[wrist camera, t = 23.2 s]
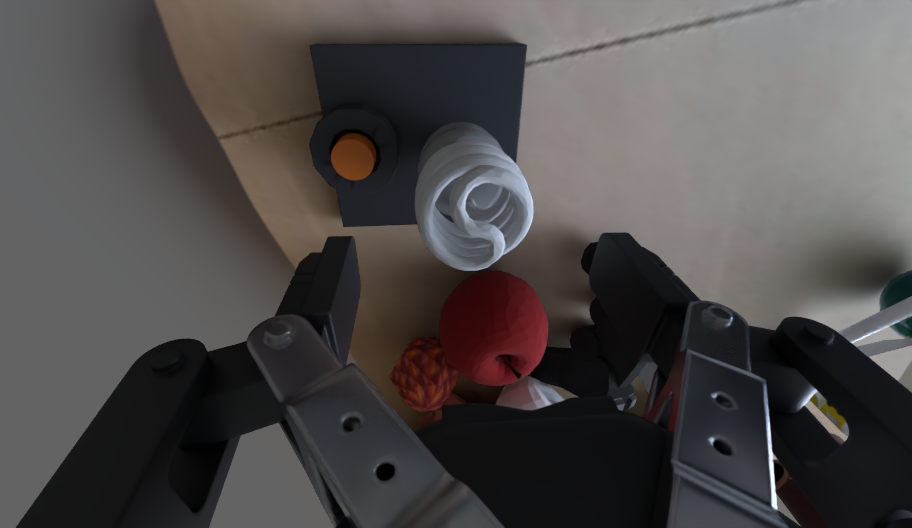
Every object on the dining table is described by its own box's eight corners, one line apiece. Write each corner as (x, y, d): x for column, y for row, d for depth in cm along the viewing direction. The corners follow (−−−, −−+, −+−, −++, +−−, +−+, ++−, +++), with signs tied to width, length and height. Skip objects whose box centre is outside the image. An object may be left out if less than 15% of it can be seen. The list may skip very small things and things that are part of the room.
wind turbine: (1042, 284, 31) (809, 380, 47) (882, 230, 31) (701, 345, 47) (1082, 321, 29) (821, 410, 44) (908, 263, 28) (708, 373, 44)
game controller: (555, 350, 44) (624, 423, 37) (514, 364, 39) (583, 448, 33) (630, 232, 35) (734, 299, 29) (587, 234, 31) (697, 313, 25)
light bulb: (504, 175, 27) (554, 266, 17) (431, 198, 28) (438, 300, 18) (485, 95, 24) (532, 149, 14) (403, 123, 25) (393, 195, 15)
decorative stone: (379, 349, 38) (372, 420, 31) (417, 306, 35) (419, 373, 28) (430, 372, 40) (434, 441, 34) (469, 333, 38) (481, 400, 31)
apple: (456, 243, 31) (469, 324, 23) (550, 266, 34) (593, 348, 25) (425, 322, 36) (427, 413, 28) (510, 338, 38) (535, 427, 30)
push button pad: (336, 219, 29) (329, 237, 27) (302, 44, 23) (288, 47, 20) (507, 213, 30) (515, 230, 28) (521, 43, 24) (534, 46, 21)
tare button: (339, 172, 25) (334, 181, 23) (331, 132, 23) (327, 139, 22) (378, 171, 25) (376, 180, 24) (373, 132, 24) (371, 138, 22)
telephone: (620, 450, 42) (580, 372, 47) (607, 465, 25) (546, 341, 30) (498, 497, 45) (472, 420, 50) (415, 538, 29) (388, 416, 34)
